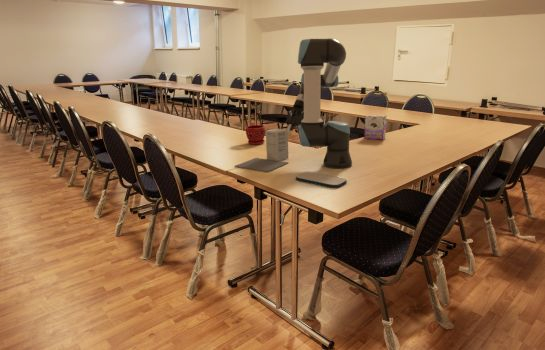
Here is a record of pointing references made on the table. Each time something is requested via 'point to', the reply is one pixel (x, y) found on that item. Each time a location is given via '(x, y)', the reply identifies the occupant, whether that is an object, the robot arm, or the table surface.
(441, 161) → the table surface
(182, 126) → the table surface
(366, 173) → the table surface
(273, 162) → the grey rubber mat
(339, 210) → the table surface
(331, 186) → the external hard drive
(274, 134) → the supplement box
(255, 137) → the plant pot
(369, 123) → the candy box
